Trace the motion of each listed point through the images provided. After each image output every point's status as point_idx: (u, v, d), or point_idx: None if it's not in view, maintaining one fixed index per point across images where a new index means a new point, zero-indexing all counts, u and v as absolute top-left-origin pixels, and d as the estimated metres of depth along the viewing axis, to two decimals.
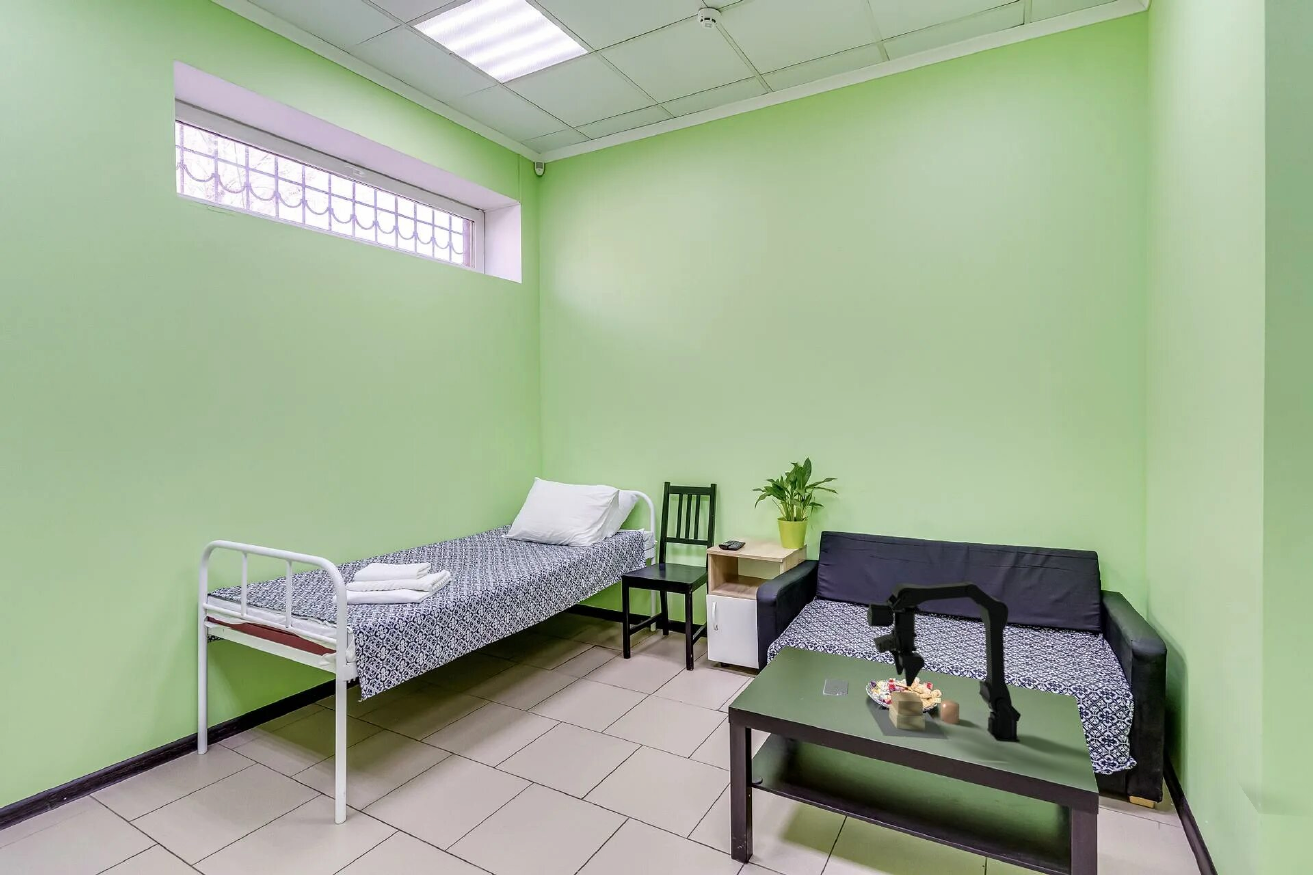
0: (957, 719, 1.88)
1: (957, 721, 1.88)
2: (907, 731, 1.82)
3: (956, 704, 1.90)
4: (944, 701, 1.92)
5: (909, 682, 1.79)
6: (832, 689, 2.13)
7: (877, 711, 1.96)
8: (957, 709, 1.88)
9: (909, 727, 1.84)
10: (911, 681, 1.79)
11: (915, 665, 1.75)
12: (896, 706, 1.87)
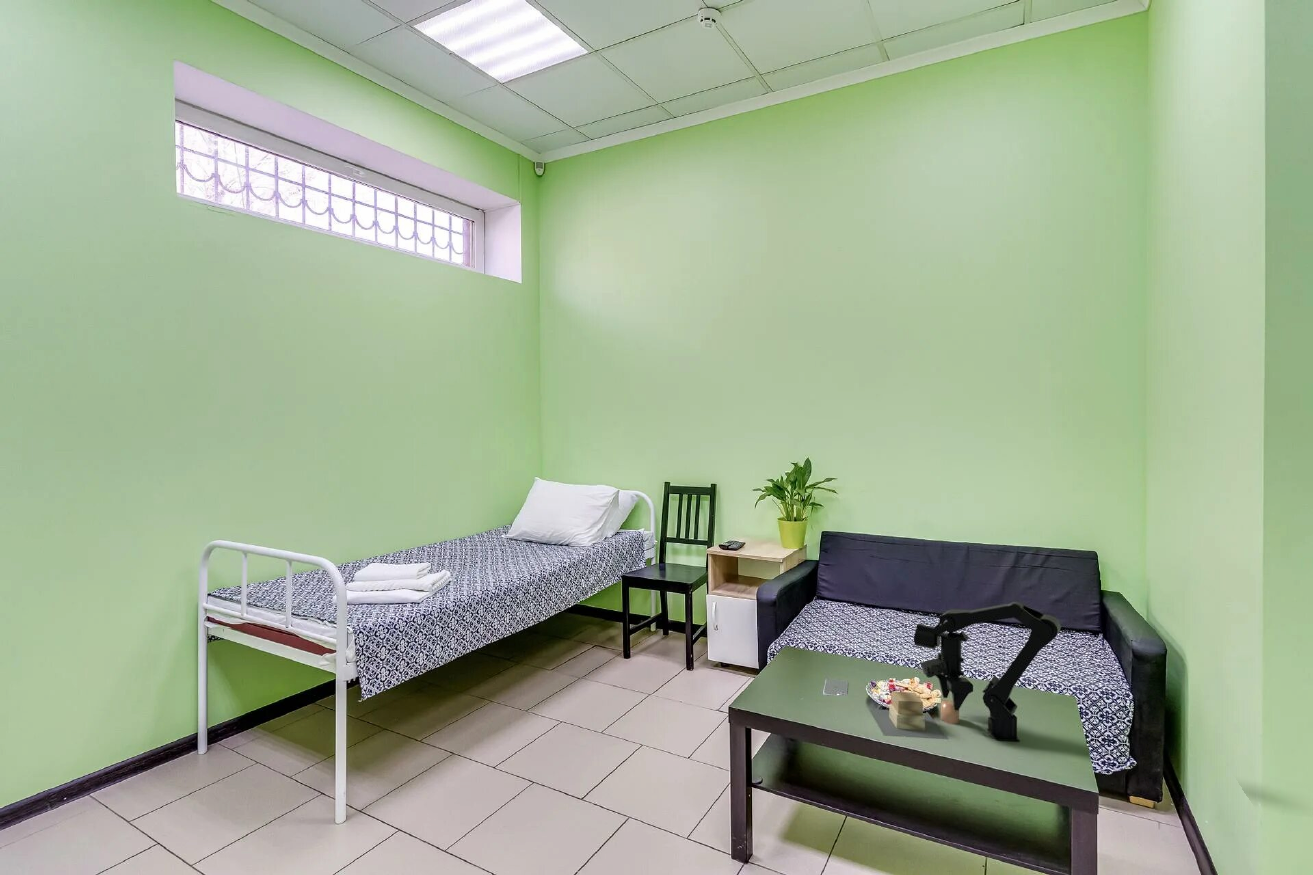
0: (957, 719, 1.88)
1: (957, 721, 1.88)
2: (907, 731, 1.82)
3: None
4: (944, 701, 1.92)
5: (957, 706, 1.85)
6: (832, 689, 2.13)
7: (877, 711, 1.96)
8: None
9: (909, 727, 1.84)
10: (959, 705, 1.85)
11: (964, 690, 1.81)
12: (896, 706, 1.87)
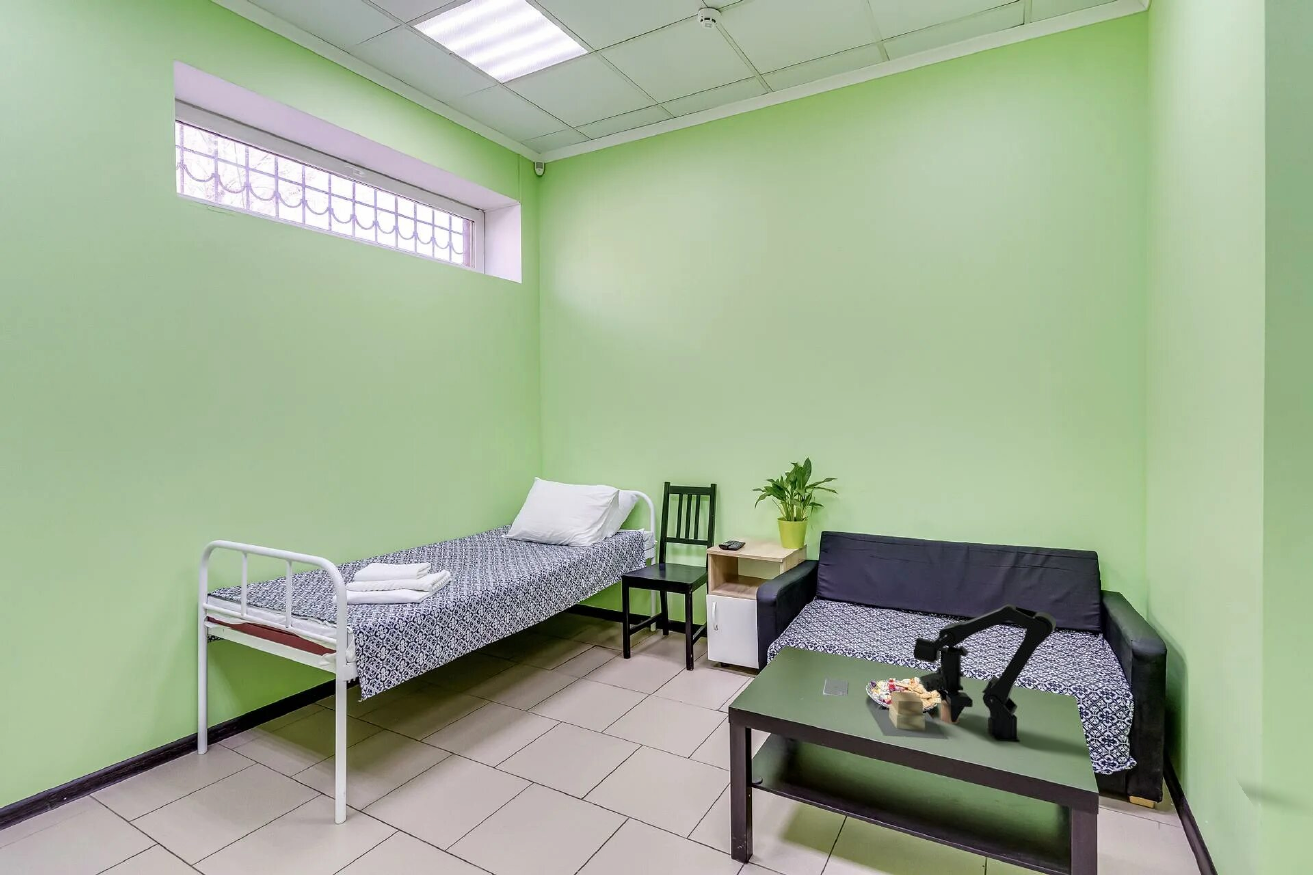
0: (957, 719, 1.88)
1: (957, 721, 1.88)
2: (907, 731, 1.82)
3: None
4: (944, 701, 1.92)
5: (954, 718, 1.87)
6: (832, 689, 2.13)
7: (877, 711, 1.96)
8: None
9: (909, 727, 1.84)
10: (956, 717, 1.87)
11: (963, 705, 1.81)
12: (896, 706, 1.87)
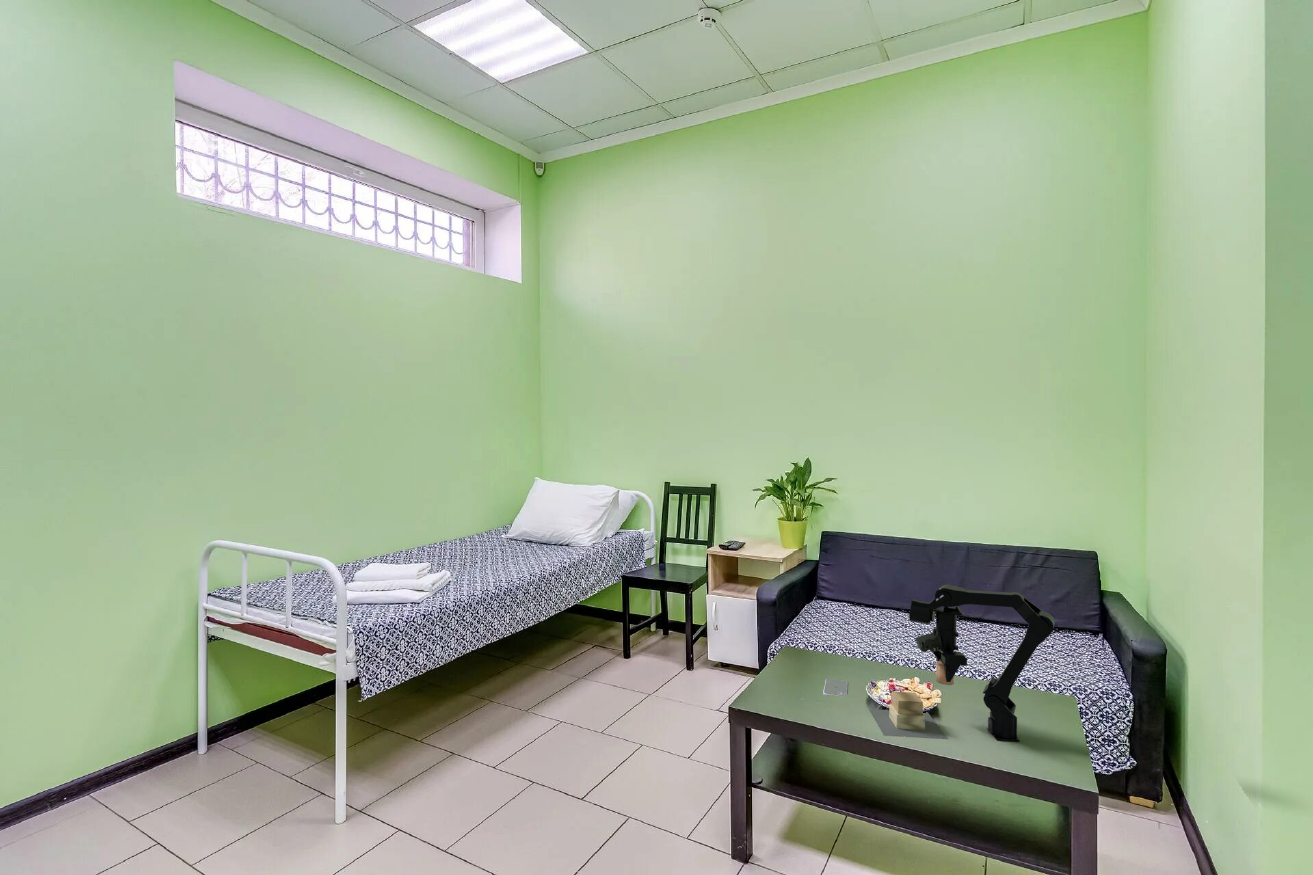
0: (952, 679, 1.88)
1: (952, 681, 1.88)
2: (907, 731, 1.82)
3: None
4: (939, 662, 1.92)
5: (949, 677, 1.87)
6: (832, 689, 2.13)
7: (877, 711, 1.96)
8: None
9: (909, 727, 1.84)
10: (951, 677, 1.87)
11: (958, 664, 1.81)
12: (896, 706, 1.87)
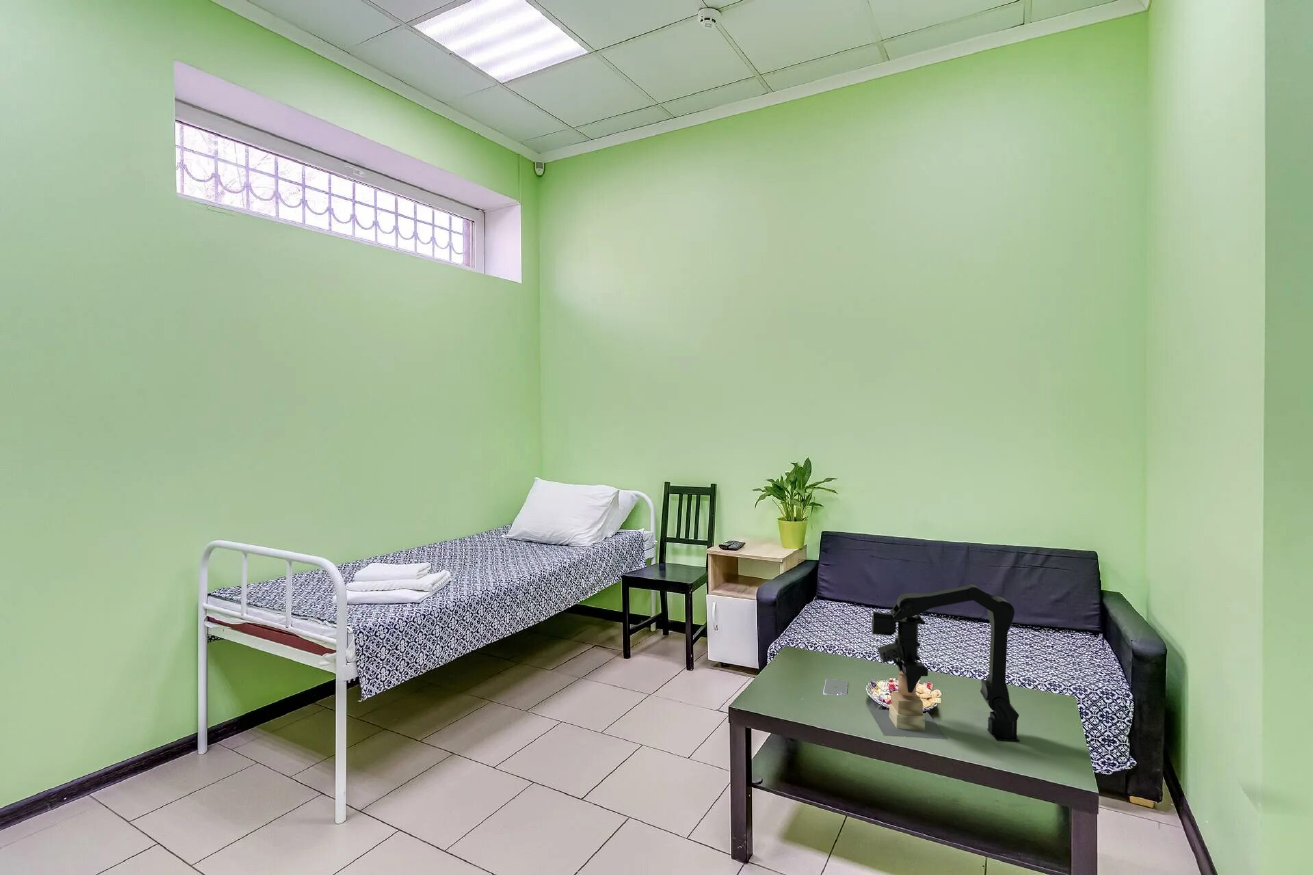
0: (914, 689, 1.86)
1: (914, 691, 1.86)
2: (907, 731, 1.82)
3: None
4: (901, 672, 1.90)
5: (910, 688, 1.85)
6: (832, 689, 2.13)
7: (877, 711, 1.96)
8: None
9: (909, 727, 1.84)
10: (912, 687, 1.85)
11: (918, 674, 1.79)
12: (896, 706, 1.87)
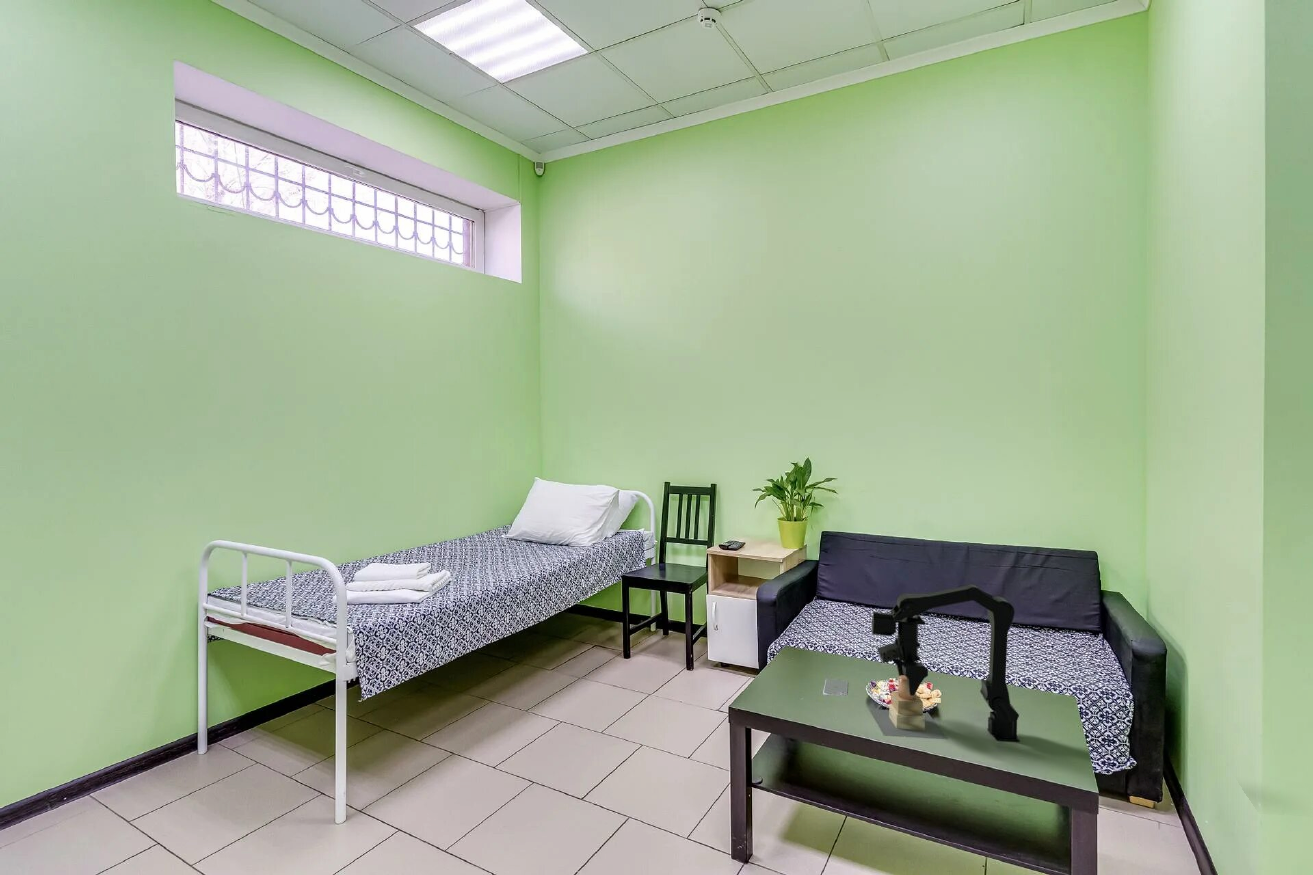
0: None
1: (914, 696, 1.86)
2: (907, 731, 1.82)
3: None
4: (901, 676, 1.90)
5: (912, 691, 1.83)
6: (832, 689, 2.13)
7: (877, 711, 1.96)
8: None
9: (909, 727, 1.84)
10: (914, 690, 1.83)
11: (918, 675, 1.79)
12: (896, 706, 1.87)
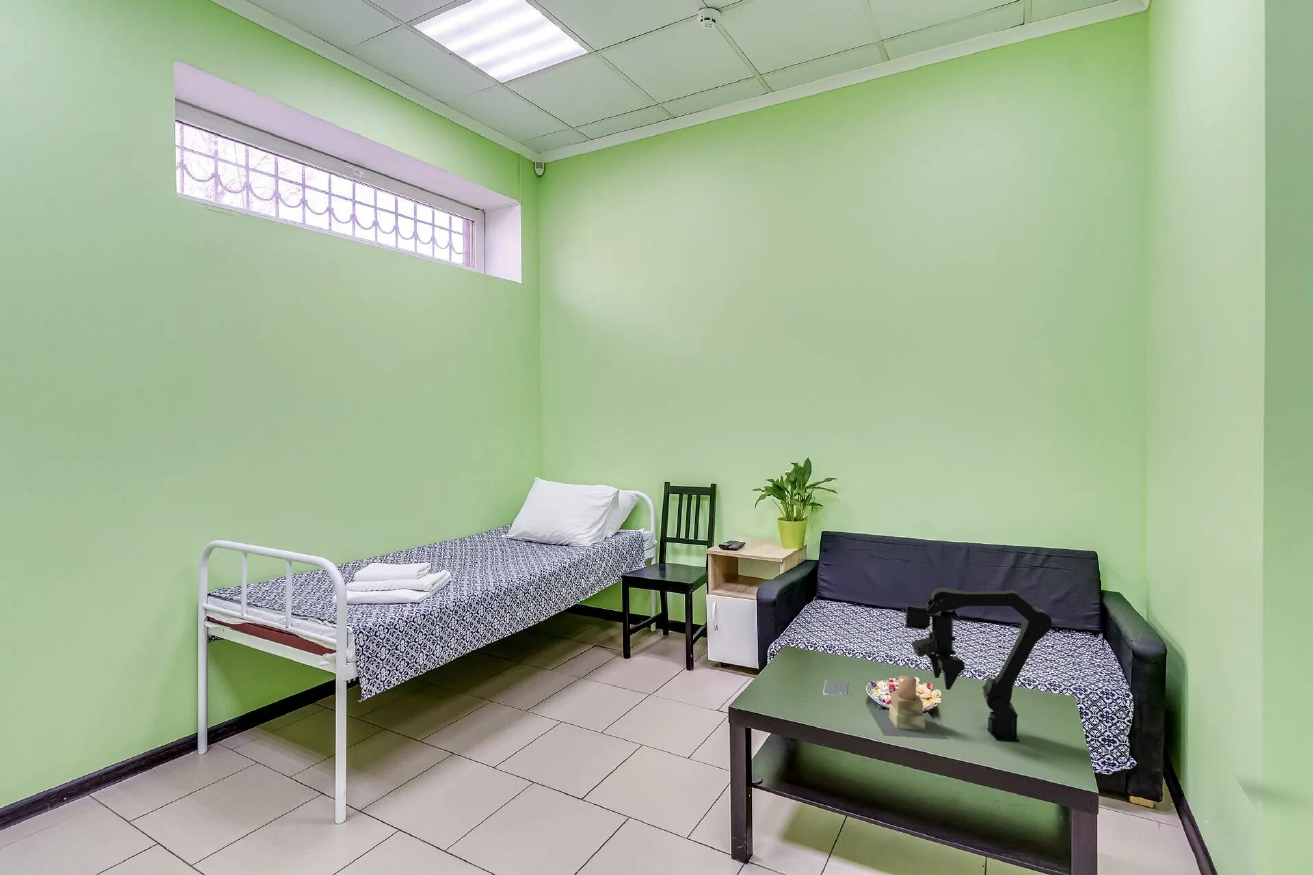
0: (914, 694, 1.86)
1: (914, 696, 1.86)
2: (907, 731, 1.82)
3: (913, 679, 1.87)
4: (901, 676, 1.90)
5: (948, 685, 1.82)
6: (832, 689, 2.13)
7: (877, 711, 1.96)
8: (913, 683, 1.86)
9: (909, 727, 1.84)
10: (950, 684, 1.82)
11: (955, 668, 1.78)
12: (896, 706, 1.87)
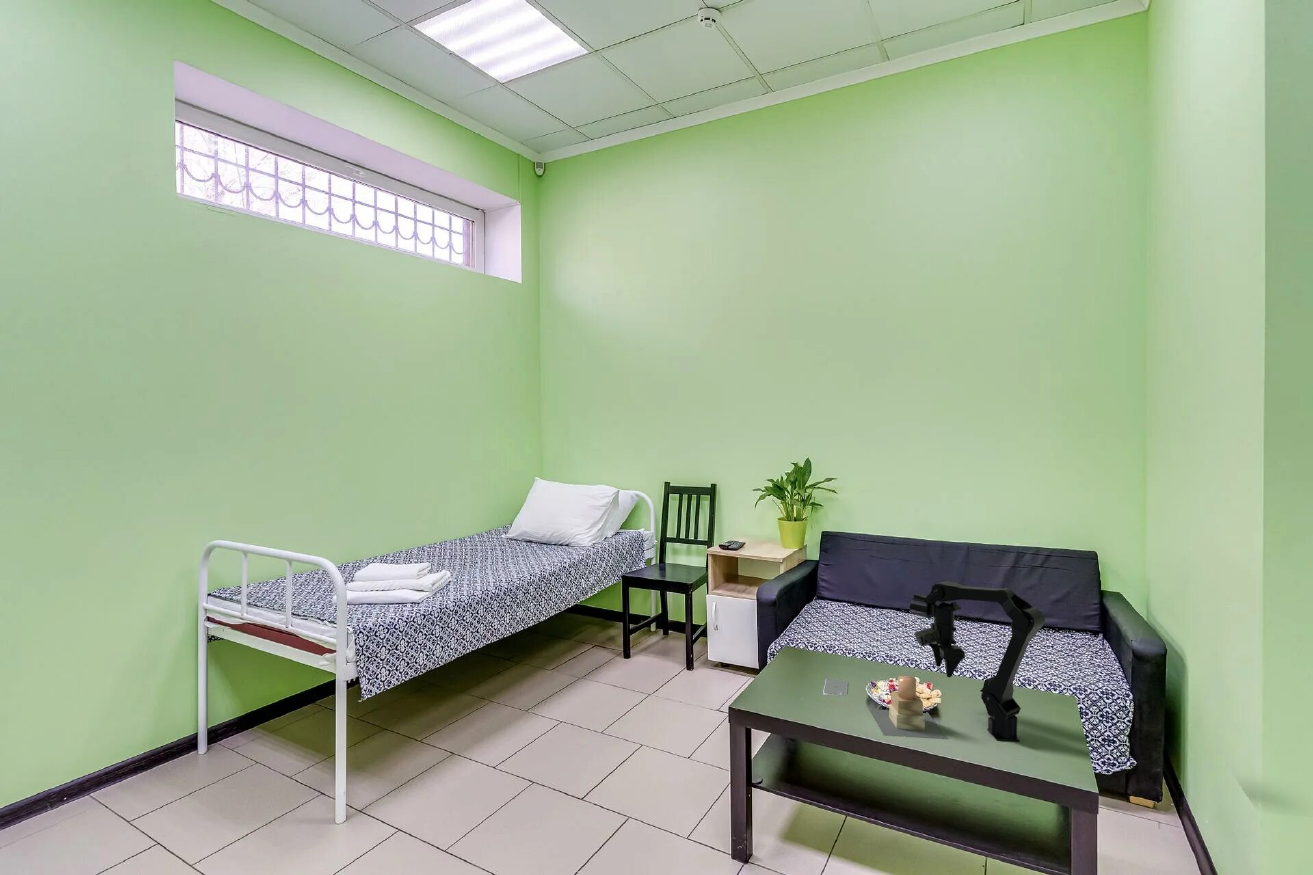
0: (914, 694, 1.86)
1: (914, 696, 1.86)
2: (907, 731, 1.82)
3: (913, 679, 1.87)
4: (901, 676, 1.90)
5: (949, 673, 1.91)
6: (832, 689, 2.13)
7: (877, 711, 1.96)
8: (913, 683, 1.86)
9: (909, 727, 1.84)
10: (951, 672, 1.91)
11: (956, 657, 1.87)
12: (896, 706, 1.87)
